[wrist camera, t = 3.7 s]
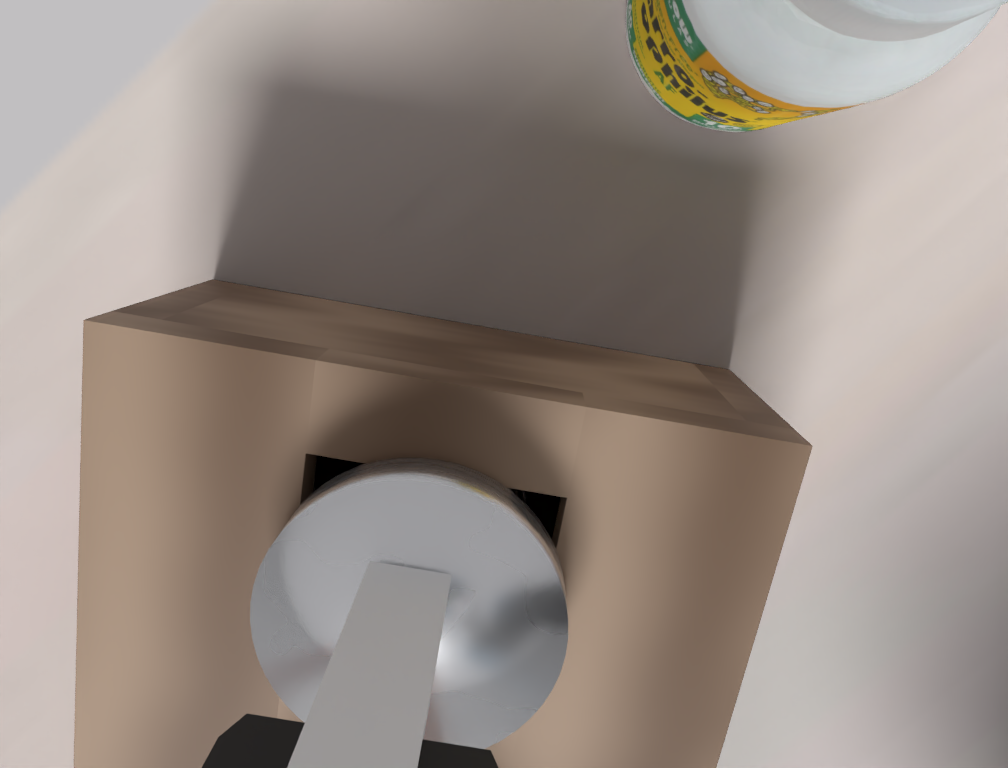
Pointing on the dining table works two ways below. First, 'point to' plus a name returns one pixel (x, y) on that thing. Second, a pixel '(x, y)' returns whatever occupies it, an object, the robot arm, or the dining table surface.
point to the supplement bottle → (791, 53)
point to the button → (427, 546)
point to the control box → (428, 434)
